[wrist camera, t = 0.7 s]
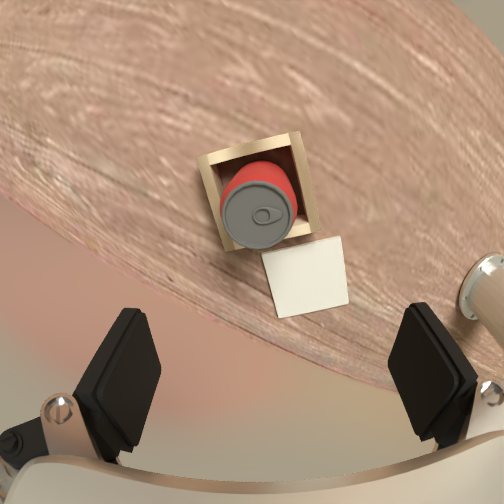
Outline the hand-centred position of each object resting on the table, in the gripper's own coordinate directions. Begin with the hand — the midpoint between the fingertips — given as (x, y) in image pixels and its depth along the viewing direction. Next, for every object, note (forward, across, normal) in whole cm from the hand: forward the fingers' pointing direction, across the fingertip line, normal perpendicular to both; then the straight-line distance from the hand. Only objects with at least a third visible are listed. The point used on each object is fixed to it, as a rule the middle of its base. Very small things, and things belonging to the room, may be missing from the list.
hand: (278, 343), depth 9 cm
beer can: (+26, 0, 0) cm, 26 cm away
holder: (+26, 0, 0) cm, 26 cm away
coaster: (+25, -6, +12) cm, 28 cm away
